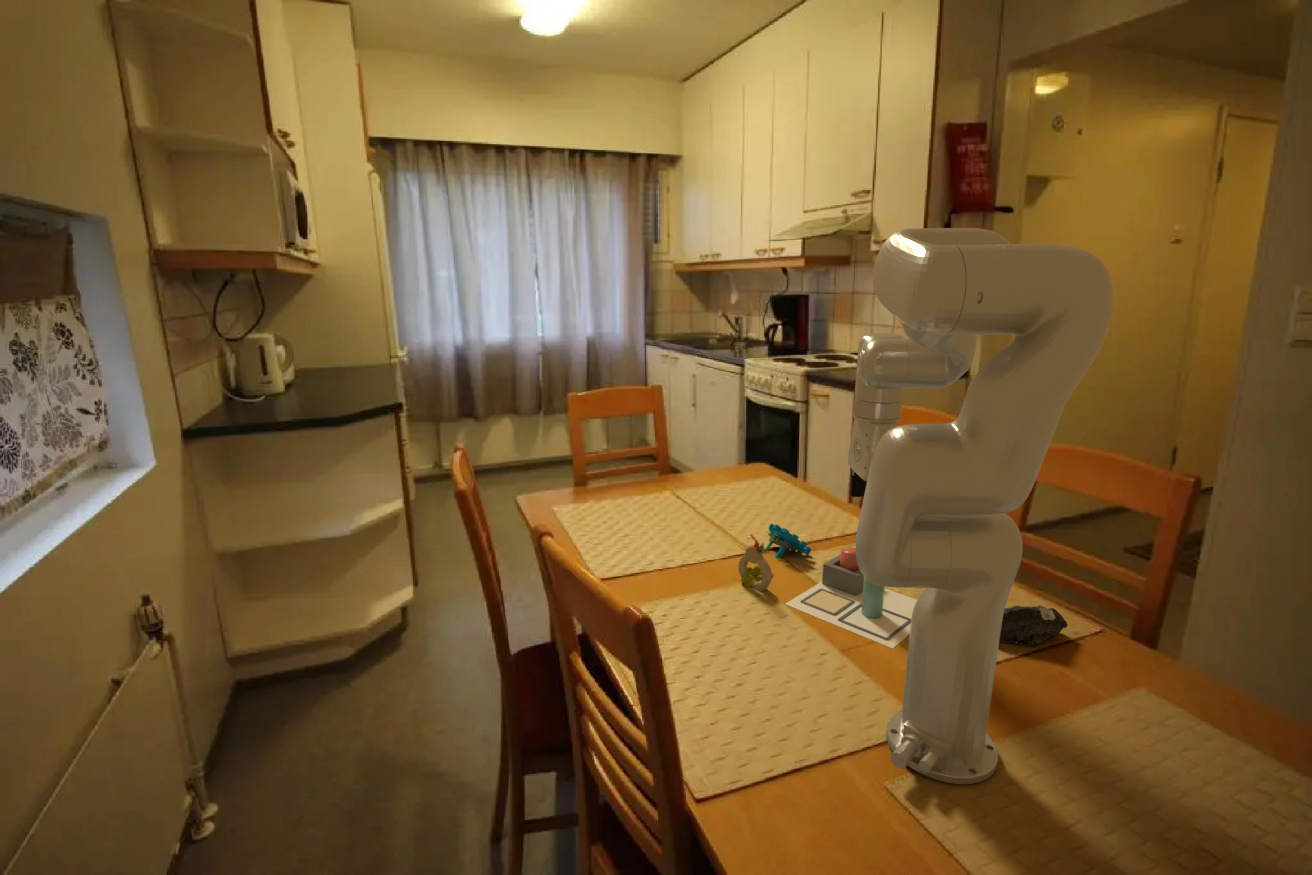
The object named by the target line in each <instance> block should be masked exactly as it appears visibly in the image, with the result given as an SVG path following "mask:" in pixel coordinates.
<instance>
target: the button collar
mask: <svg viewBox="0 0 1312 875" xmlns="http://www.w3.org/2000/svg"><path fill="white" fill-rule="evenodd" d="M821 582H822V584H824V585H827V586H829V587H832V588H835V589H838V590H840V591H843V592H846V593H848V594H851V595H854V596H857V595H859V594H860V593H862V592H863V583H864V576H863V574H862V573H861V571H860V569H859V570H857V571H855V572H854V571H851V570H848V569H845V568H842V567H840V554H839V555H837V556H835V557H834V558H831V559H830V560H828V561H826V562H824V563H823V564H822V580H821Z"/></svg>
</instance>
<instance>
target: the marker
mask: <svg viewBox="0 0 1312 875" xmlns="http://www.w3.org/2000/svg"><path fill="white" fill-rule="evenodd" d="M884 588H885V586H879V585H876V584H874V583H872V582H870V581H869V580H867V579H866V578H865V577H864V583H863V597H862V611H861V613H862V615H864V616H865V617H868V618H872V619H877V618H881V617H882V612H883V599H884Z"/></svg>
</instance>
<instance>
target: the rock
mask: <svg viewBox="0 0 1312 875" xmlns="http://www.w3.org/2000/svg"><path fill="white" fill-rule="evenodd" d="M1068 625H1069V624H1068V623H1067V621H1066V620H1065V618H1064V617H1063V616H1062V614H1061V613H1060V612H1058V611H1057V610H1056V608H1053V607H1049V608H1046V606H1042V605H1038V606H1021V605H1014V606H1012V607H1007V608H1006V607H1005V610H1004V615H1003V621H1002V627H1001V633H1000V640H999V643H1006V644H1010V643H1014V642H1017V643H1016V644H1017V645H1020V646H1023V645H1024V644H1026V645H1027V646H1028V647H1029V646H1033V645H1035V646H1036V645H1038V644H1041V643H1043V642H1045V641H1047V640H1048V639H1050V638H1053V637H1054V636H1055V635H1058V634H1060V633H1061V632H1062V631H1063V629H1067V627H1068Z"/></svg>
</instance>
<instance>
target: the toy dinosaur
mask: <svg viewBox="0 0 1312 875" xmlns="http://www.w3.org/2000/svg"><path fill="white" fill-rule="evenodd" d="M768 530H769V532H768V533H767V535H768V537H769V538H768V541H769V542H768V544H767V545H766V547H764V552H767V551H769V550H770V548H771V547H772V546H773V544H774V545H777V546H780V548H779V550H778V551H777V553H776V555H775V556H774V558H775V559H780V558H781V557H782V556H783V555H784V553H785V552H786V550H787V549H789V548H791V549H793V550H797V551H798V552H800V553H802V554H805V555H807V556H809V555H810V553H811V551H812V548H811V547H810V546H808V544H807V542H805V541H803V540H801V541H800V540H799V536H798V535H796V534H795V533H793V534H791V533H790V531H789V529H787V528H785V527H781V526H780V525H778V524H773V523H770V524H769V526H768Z"/></svg>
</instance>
